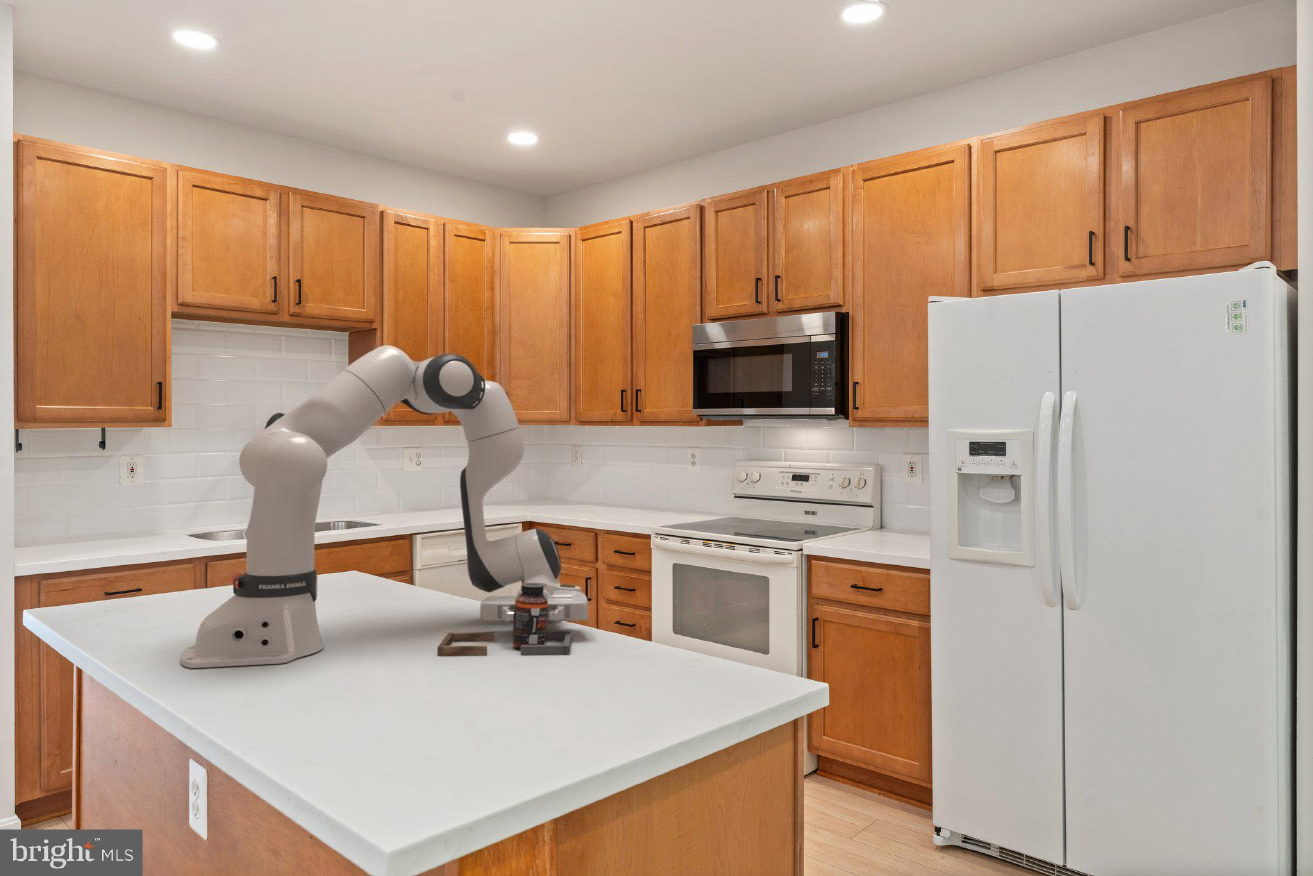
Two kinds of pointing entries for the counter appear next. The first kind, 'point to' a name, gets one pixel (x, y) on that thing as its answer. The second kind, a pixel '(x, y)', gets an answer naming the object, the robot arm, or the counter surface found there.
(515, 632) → the supplement bottle
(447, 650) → the walnut bay
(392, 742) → the counter surface
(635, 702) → the counter surface
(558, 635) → the charcoal bay
